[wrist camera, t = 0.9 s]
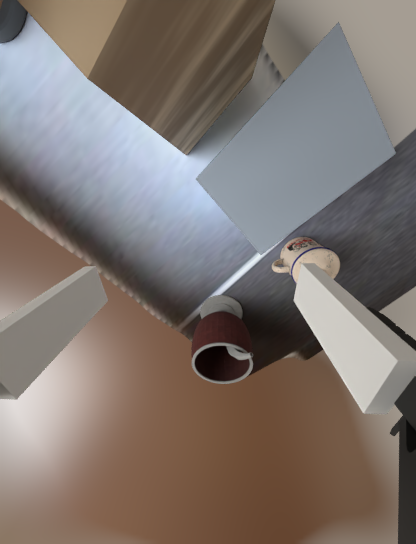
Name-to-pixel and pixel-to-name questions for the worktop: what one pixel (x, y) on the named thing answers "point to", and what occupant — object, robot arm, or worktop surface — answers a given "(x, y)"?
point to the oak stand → (161, 55)
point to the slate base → (300, 147)
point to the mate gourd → (222, 342)
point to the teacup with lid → (306, 257)
